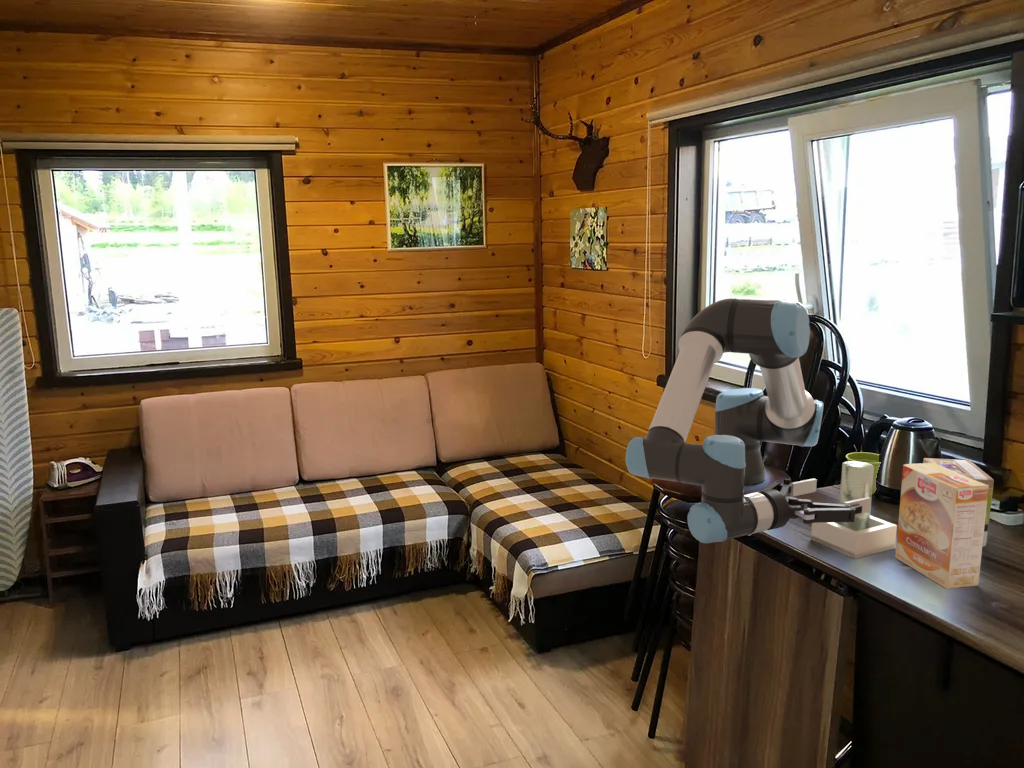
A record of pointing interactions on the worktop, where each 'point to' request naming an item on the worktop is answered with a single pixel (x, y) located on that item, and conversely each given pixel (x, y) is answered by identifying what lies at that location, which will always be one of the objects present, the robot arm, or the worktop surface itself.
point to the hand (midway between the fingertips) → (841, 494)
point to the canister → (856, 490)
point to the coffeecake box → (941, 524)
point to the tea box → (974, 473)
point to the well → (856, 537)
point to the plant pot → (867, 458)
